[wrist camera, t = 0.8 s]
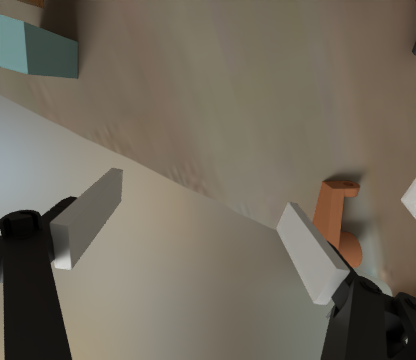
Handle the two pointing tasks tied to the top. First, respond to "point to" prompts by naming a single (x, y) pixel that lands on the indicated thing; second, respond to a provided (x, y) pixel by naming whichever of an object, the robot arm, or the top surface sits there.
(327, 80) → the top surface
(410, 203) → the big headed doll
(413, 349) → the robot arm
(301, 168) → the top surface
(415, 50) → the toy airplane
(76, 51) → the socket block
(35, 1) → the collared tan post
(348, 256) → the crank
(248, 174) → the top surface
